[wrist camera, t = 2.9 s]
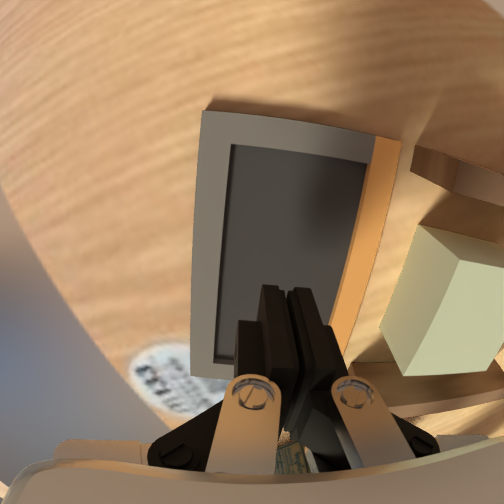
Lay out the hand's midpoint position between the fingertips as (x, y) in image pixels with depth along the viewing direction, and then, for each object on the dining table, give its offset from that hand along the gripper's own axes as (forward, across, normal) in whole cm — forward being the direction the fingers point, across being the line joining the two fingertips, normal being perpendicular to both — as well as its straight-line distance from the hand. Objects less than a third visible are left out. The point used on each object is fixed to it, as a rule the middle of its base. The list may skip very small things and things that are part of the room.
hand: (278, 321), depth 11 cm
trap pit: (+4, 0, 0) cm, 4 cm away
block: (+4, -10, 0) cm, 10 cm away
